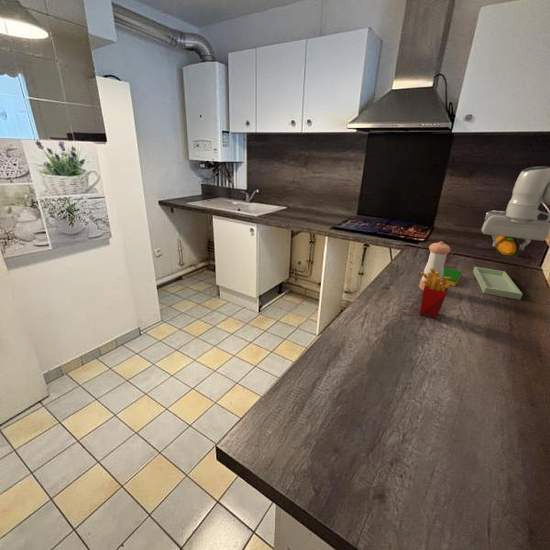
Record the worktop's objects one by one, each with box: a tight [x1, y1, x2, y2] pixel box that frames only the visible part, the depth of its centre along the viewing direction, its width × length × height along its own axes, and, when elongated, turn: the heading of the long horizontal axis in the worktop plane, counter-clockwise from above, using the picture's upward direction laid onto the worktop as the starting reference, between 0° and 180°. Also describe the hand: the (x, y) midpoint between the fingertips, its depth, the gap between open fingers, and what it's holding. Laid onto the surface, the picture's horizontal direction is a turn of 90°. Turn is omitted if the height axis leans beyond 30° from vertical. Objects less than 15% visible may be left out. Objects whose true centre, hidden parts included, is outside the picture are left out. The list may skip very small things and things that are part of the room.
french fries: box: [419, 268, 451, 320], centre depth 93 cm, size 9×8×15 cm
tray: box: [472, 266, 523, 300], centre depth 119 cm, size 25×12×2 cm, turn 156°
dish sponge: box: [441, 267, 463, 287], centre depth 123 cm, size 7×14×2 cm, turn 141°
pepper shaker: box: [418, 241, 451, 291], centre depth 110 cm, size 7×7×19 cm
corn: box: [494, 236, 519, 259], centre depth 113 cm, size 7×8×20 cm
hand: (507, 248), depth 114 cm, fingers closed on corn, 7 cm apart
